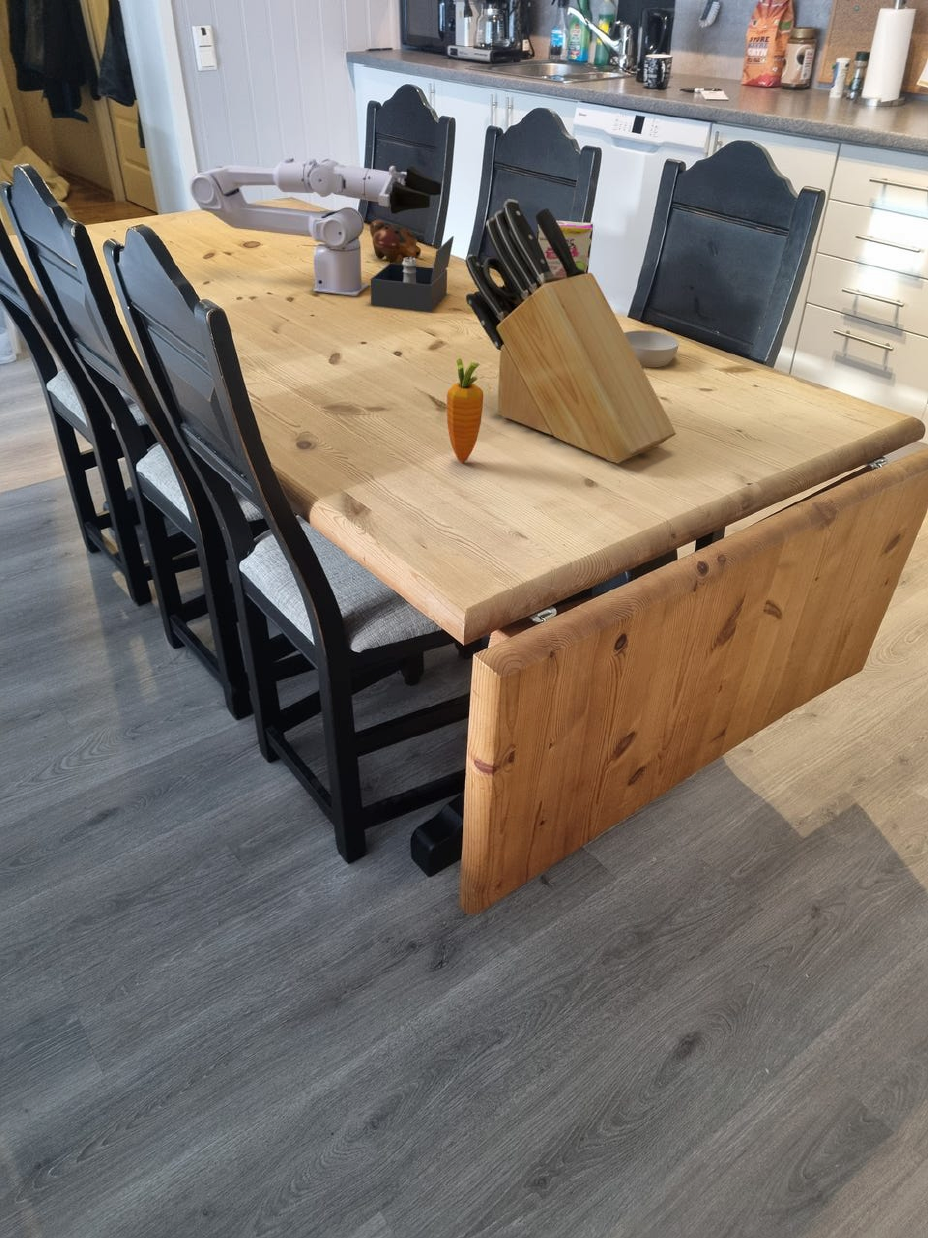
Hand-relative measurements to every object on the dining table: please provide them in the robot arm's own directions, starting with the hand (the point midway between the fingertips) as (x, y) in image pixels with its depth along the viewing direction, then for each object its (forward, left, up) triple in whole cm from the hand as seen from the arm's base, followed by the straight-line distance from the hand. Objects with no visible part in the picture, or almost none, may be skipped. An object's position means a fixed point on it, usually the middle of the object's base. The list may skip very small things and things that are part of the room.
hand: (435, 194), depth 182 cm
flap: (+2, -2, -11) cm, 12 cm away
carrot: (+24, -73, -21) cm, 79 cm away
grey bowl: (+42, -20, -21) cm, 51 cm away
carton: (-5, -2, -20) cm, 21 cm away
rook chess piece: (-5, -2, -20) cm, 21 cm away
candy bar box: (+25, +5, -21) cm, 33 cm away
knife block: (+35, -55, -21) cm, 68 cm away
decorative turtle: (-17, +27, -16) cm, 36 cm away
